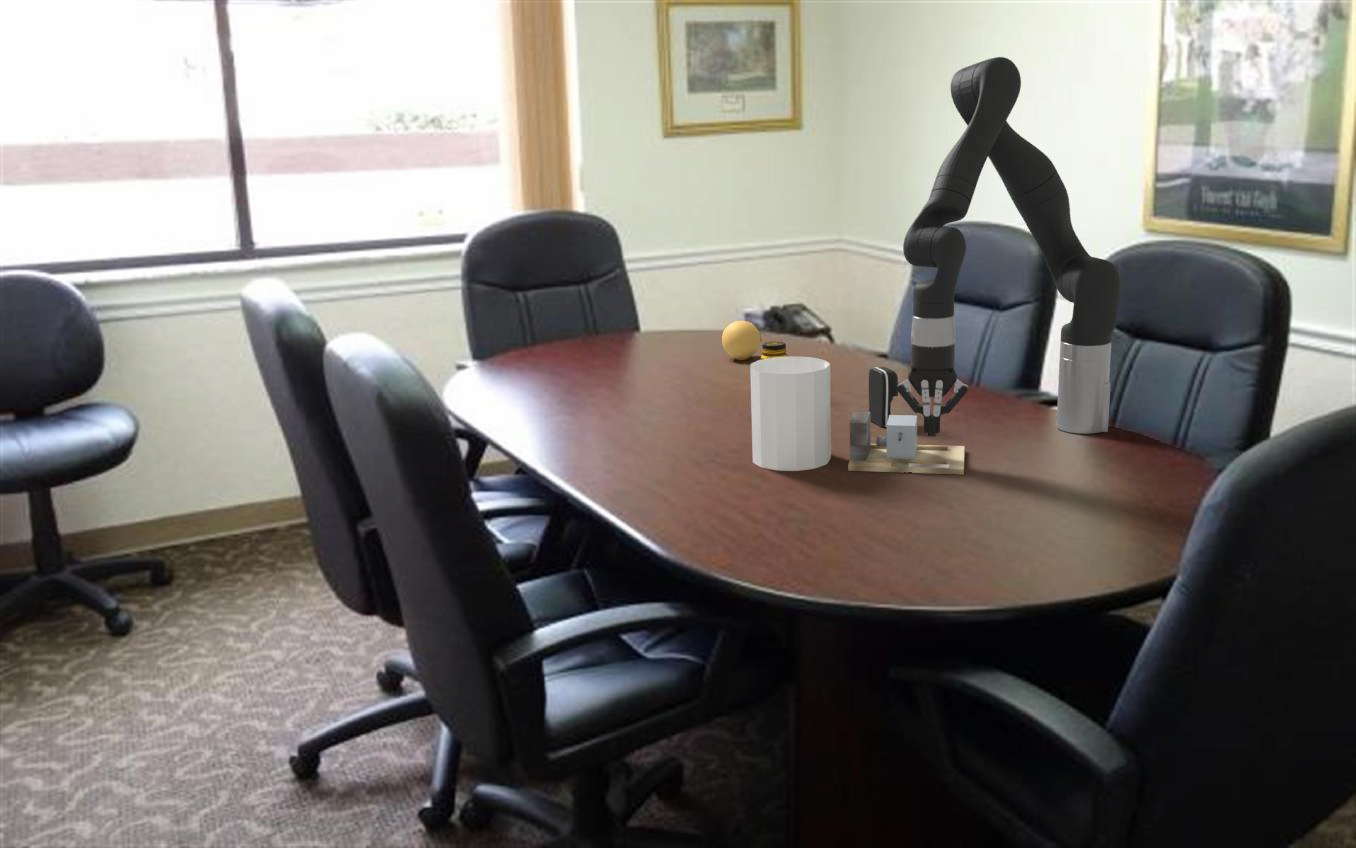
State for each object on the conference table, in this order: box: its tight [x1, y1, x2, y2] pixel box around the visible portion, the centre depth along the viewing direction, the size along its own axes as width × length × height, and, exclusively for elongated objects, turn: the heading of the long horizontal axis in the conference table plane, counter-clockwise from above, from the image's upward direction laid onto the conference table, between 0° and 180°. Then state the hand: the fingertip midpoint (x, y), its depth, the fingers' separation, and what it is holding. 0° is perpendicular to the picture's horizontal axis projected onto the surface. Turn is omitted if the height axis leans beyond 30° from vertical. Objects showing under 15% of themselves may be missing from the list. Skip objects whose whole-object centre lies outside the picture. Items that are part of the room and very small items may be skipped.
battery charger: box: [868, 366, 899, 428], centre depth 239 cm, size 7×4×11 cm, turn 16°
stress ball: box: [721, 319, 762, 361], centre depth 303 cm, size 10×10×10 cm
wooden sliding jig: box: [847, 410, 965, 475], centre depth 215 cm, size 20×14×8 cm
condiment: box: [760, 340, 789, 360], centre depth 266 cm, size 7×8×12 cm
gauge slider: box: [875, 414, 918, 459], centre depth 213 cm, size 7×10×6 cm, turn 166°
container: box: [749, 355, 832, 472], centre depth 217 cm, size 14×14×18 cm
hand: (931, 435), depth 213 cm, fingers closed
